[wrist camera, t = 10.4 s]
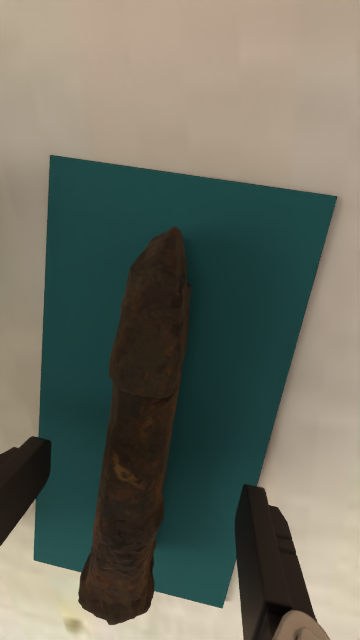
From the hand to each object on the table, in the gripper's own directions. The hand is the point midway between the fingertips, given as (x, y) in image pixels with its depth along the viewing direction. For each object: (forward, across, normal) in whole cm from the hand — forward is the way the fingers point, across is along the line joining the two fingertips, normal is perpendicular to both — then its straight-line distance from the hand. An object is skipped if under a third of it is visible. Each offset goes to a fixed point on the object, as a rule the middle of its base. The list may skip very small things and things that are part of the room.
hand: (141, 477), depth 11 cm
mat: (+4, 0, 0) cm, 4 cm away
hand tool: (+4, +1, 0) cm, 4 cm away
